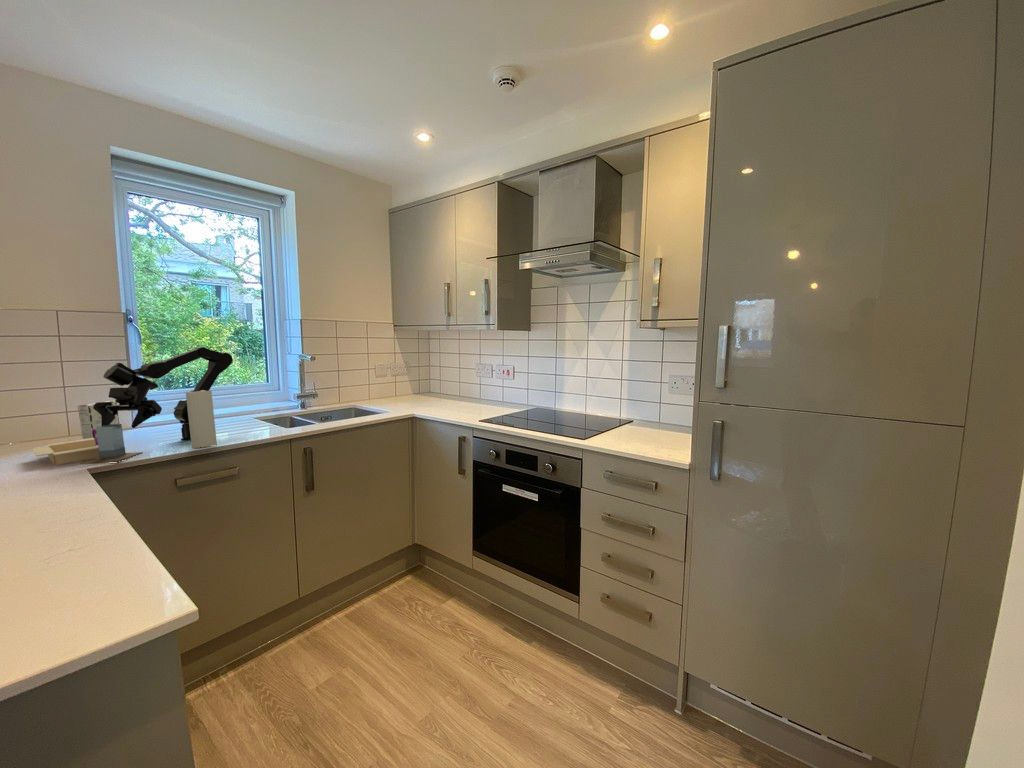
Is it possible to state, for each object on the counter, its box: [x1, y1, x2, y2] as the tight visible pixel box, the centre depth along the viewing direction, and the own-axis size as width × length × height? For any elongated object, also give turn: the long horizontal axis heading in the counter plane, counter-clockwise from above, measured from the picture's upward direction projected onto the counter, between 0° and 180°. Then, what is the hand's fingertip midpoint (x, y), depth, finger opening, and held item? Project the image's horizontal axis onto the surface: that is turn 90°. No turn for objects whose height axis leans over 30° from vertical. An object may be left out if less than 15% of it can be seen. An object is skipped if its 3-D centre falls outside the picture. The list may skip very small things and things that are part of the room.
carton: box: [31, 438, 100, 466], centre depth 147 cm, size 22×23×4 cm
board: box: [80, 451, 143, 465], centre depth 143 cm, size 11×11×1 cm
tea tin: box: [96, 423, 127, 460], centre depth 142 cm, size 5×5×11 cm
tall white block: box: [185, 389, 218, 449], centre depth 157 cm, size 7×6×21 cm
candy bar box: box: [77, 400, 121, 446], centre depth 166 cm, size 11×5×16 cm, turn 179°
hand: (117, 428), depth 145 cm, fingers open, 9 cm apart
